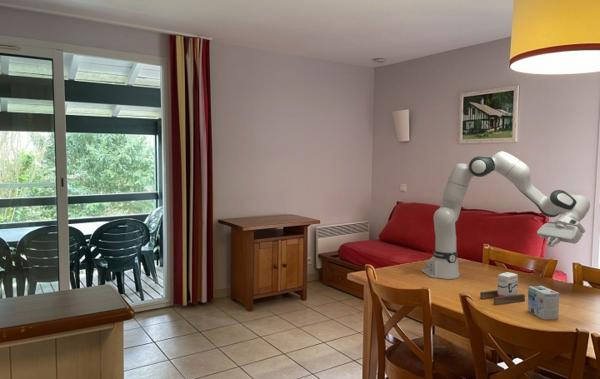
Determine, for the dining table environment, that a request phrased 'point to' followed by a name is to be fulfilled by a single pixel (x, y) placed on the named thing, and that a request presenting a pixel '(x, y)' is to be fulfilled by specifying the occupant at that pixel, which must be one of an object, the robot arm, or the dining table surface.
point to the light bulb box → (543, 302)
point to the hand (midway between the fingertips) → (549, 245)
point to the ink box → (507, 284)
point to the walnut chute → (502, 299)
